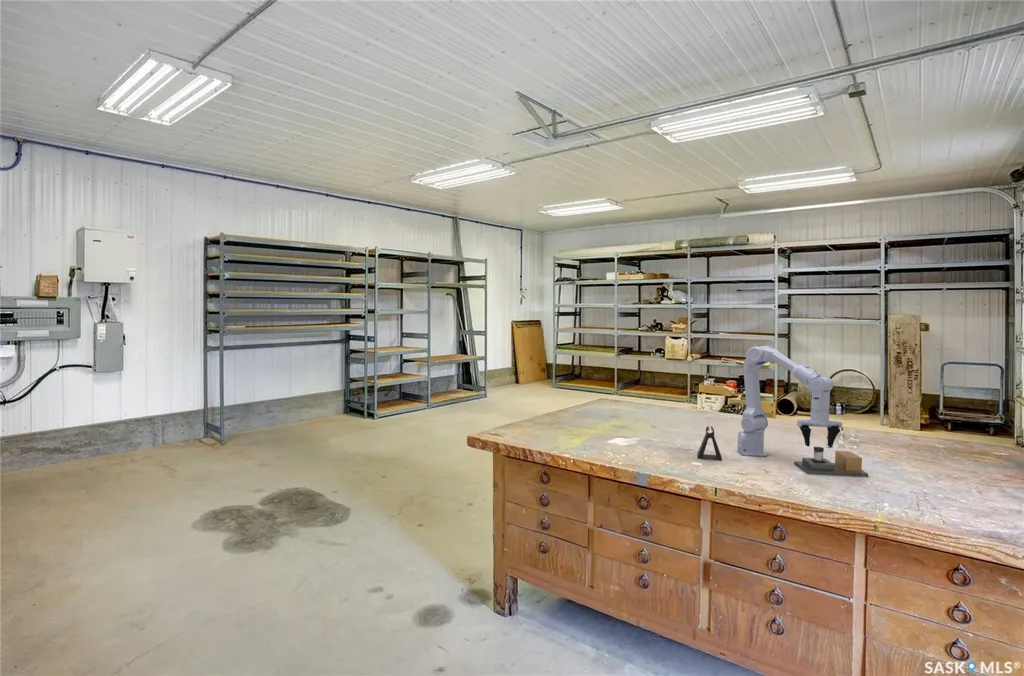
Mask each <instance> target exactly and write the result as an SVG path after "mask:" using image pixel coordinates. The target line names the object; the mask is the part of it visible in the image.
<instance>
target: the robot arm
mask: <svg viewBox="0 0 1024 676" xmlns="http://www.w3.org/2000/svg"><path fill="white" fill-rule="evenodd" d="M745 355H746V356H745V360H744V362H743V366H742V367H743V381H744V392H745V393H744V395H745V406H746V407H745V410H744V411H743V412H742V419H741V421H740V426H741V428H742V430H743V431H738V434H737V450H736V451H738V453H739V454H740V455H741V456H751V457H752V456H754V457H755V456H756V457H757V456H758V457H767V456H768V454H766V453H765V452H764V449H765V447H764V445H765V443H764V442H765V431H766V429H767V427H768V426H769V420H768V418H767V416H766V412H765V410H764V409H763V408H762V403H761V402H762V401H761V388H760V375H759V369H760V368H762V367H763V366H764V365H765V364H767V363H770V362H773V363H775V364H778V365H779V366H781V367H782V368H784V369H785V370H788V371H790V372H791V373H792V375H793V378H795V379H796V380H798V381H800V382H801V383H803V384H805V385H806V386H808V388H809V390H810V392H811V393H810V394H811V400H810V401H811V403H810V419H801V420H800V419H797V420H796V426H798V427H799V429H800V431H801V433H802V437H803V440H804V444H805V446H806V447H810V445H811V444H810V443H811V442H810V441H811V439H810V438H811V432H812V429H811V428H810V427H819V428H820V427H821V428H827V435H828V439H827V440H828V445H827V447H829V448H833V446H834V442H835V440H836V438H837V436H838V435H839V433H840V431H841V430H840V429H841V428H842V427H843V422H842V421H838V420H837V421H836V420H830V403H831V402H830V401H831V395H830V394H831V390H832V389H833V388H834V381H833V380H832V378H831V377H829V376H828V375H822V374H821V373H820V372H818V371H815V370H813V369H812V368H810V365H808V364H803V363H802V364H798V363H796V362H794V360H791V359H790V358H788V357H787V356H786V355H785V354H782V353H781V352H780V351H779V350H778V349H777V348H774V347H773V346H771V345H763V346H762V345H761V346H752V347H750V348H749V349H748V350H747V351H745ZM839 428H840V429H839Z"/></svg>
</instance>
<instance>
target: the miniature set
mask: <svg viewBox="0 0 1024 676" xmlns="http://www.w3.org/2000/svg"><path fill="white" fill-rule="evenodd" d="M839 429H840V432H839V433H840V434H841V435H840V436H839V438H840V439H839V440H838V443H837V448H840V449H845V442H844V437H843V436H844V427H843V426H842V428H839ZM849 433H850V435H849V438H848V442H851V443H857V444H859V443H860V440H859V439H857V438H856V434H857V432H856V430H853V429H850V430H849ZM825 446H828V434H827V435H826V443H825ZM850 449H857V445H854V446H851V445H850Z"/></svg>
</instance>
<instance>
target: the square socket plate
mask: <svg viewBox="0 0 1024 676" xmlns="http://www.w3.org/2000/svg"><path fill="white" fill-rule="evenodd" d="M834 451H835V452H834V453H835V456H834V462H831V461H830V460H828V459H827V458H823V463H814V457H802V458H801V461H799V460H797V461H796V460H795V461H793V464H794V465H795V466H796V467H797V468H798V469H800V470H801V471H802V472H804V473H805V474H806V475H818V476H819V475H820V476H836V477H837V476H840V477H841V476H842V477H857V478H858V477H861V478H862V477H863V478H865V477H866V478H869V473H868V472H866V471H865V470H863V469H862V468H863V466H862V465H863V458H862V457H860V456H859V455H857V454H855V453H853V451H849V450H848V451H847V450H834Z"/></svg>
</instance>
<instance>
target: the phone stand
mask: <svg viewBox="0 0 1024 676" xmlns="http://www.w3.org/2000/svg"><path fill="white" fill-rule="evenodd" d="M710 429H711V432H708V431H710ZM709 439H711V440H712V443H713V448H714V449H713V450H714V452H715V454H705V451H706V447H707V445H708V442H709ZM696 454H697V456H696V457H697V459H698V460H710V461H723V458H722V454H721V451H720V449H719V445H718V443H717V440H716V438H715V429H714V427H713V426H712V425H711V426H710V427H709V425H708V426H706V428H705V435H704V436H703V439H702V442H701V444H700V447H699V449H698V451H697V453H696Z"/></svg>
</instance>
